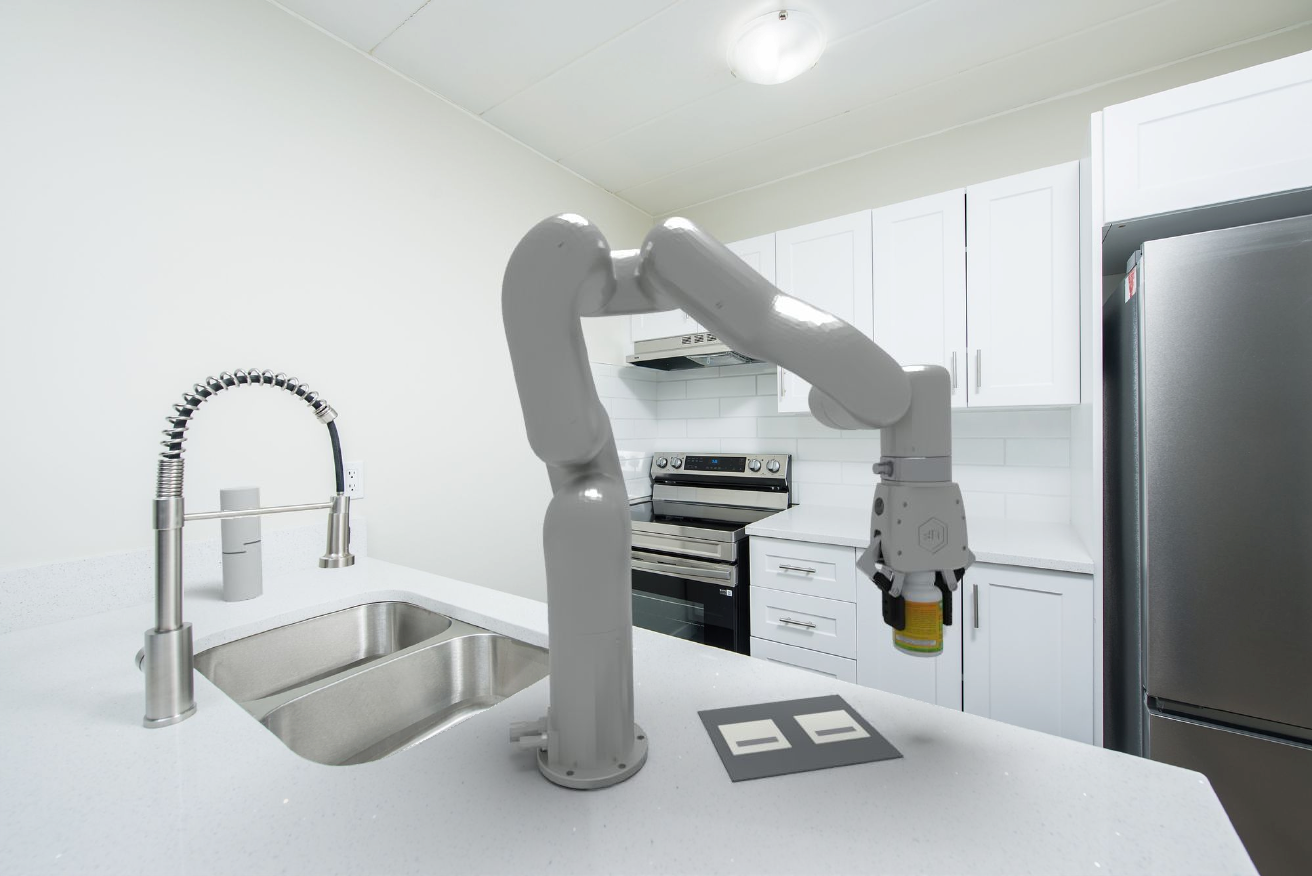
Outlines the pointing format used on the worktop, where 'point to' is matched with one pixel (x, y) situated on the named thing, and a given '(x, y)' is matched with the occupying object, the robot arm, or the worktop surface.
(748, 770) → the label mat
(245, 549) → the cylindrical container
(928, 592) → the supplement bottle
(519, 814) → the worktop surface
